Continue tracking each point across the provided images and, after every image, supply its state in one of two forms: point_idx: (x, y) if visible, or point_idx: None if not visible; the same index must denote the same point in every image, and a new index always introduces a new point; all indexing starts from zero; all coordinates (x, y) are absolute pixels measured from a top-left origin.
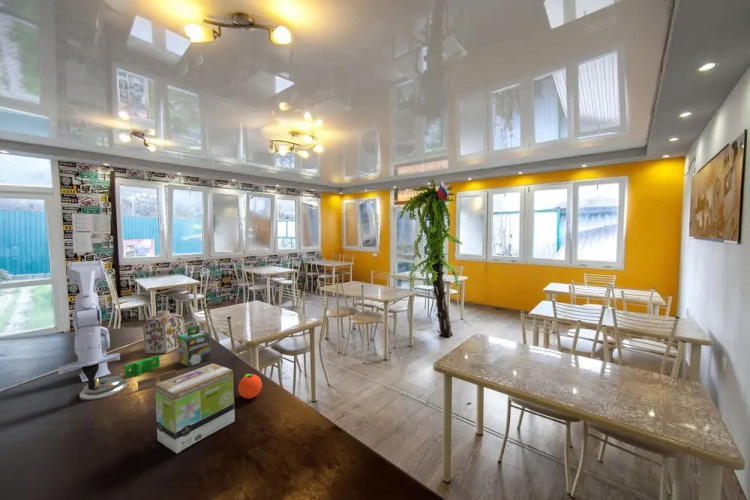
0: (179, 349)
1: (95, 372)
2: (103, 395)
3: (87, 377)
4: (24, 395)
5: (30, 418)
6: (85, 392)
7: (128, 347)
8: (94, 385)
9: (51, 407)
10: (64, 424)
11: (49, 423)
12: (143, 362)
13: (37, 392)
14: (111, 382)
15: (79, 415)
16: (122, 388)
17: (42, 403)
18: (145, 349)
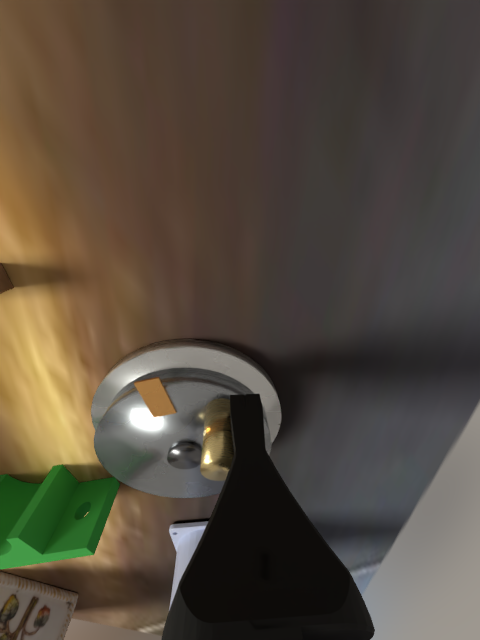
0: None
1: (216, 536)
2: (194, 344)
3: (286, 489)
4: (375, 521)
5: (448, 350)
6: (264, 413)
7: (134, 625)
8: (230, 409)
9: (368, 397)
10: (425, 76)
11: (449, 204)
12: (5, 545)
13: (350, 520)
14: (147, 429)
15: (327, 167)
16: (110, 371)
17: (371, 449)
18: (69, 614)
